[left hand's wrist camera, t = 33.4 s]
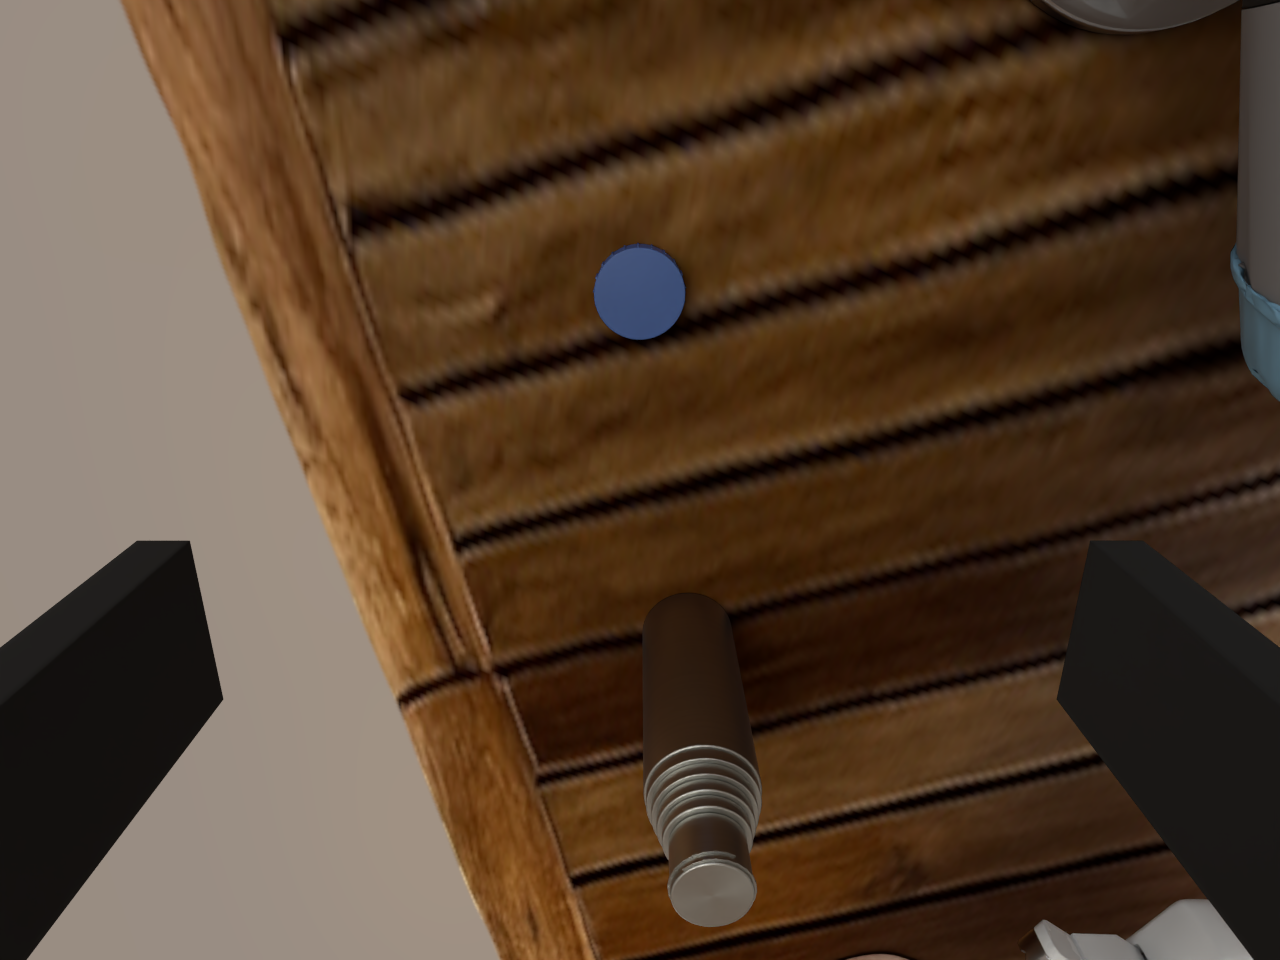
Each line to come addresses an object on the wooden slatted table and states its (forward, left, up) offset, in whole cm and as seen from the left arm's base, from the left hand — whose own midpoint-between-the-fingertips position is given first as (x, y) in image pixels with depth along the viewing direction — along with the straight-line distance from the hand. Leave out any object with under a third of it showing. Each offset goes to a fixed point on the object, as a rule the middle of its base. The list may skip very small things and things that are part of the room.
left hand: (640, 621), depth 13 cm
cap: (0, 0, -30) cm, 30 cm away
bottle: (+3, +20, -32) cm, 38 cm away
